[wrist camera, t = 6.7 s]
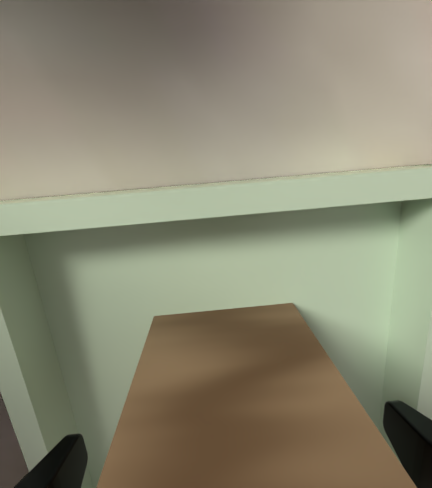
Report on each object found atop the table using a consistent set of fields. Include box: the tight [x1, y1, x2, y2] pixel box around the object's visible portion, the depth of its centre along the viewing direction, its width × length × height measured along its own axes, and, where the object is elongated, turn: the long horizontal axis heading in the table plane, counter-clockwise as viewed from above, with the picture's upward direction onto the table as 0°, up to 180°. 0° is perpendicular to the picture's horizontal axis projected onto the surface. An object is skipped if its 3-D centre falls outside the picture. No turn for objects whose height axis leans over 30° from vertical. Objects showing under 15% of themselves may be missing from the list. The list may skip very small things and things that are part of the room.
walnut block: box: [96, 303, 417, 488], centre depth 8 cm, size 5×5×6 cm
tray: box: [0, 164, 432, 488], centre depth 10 cm, size 14×14×2 cm
